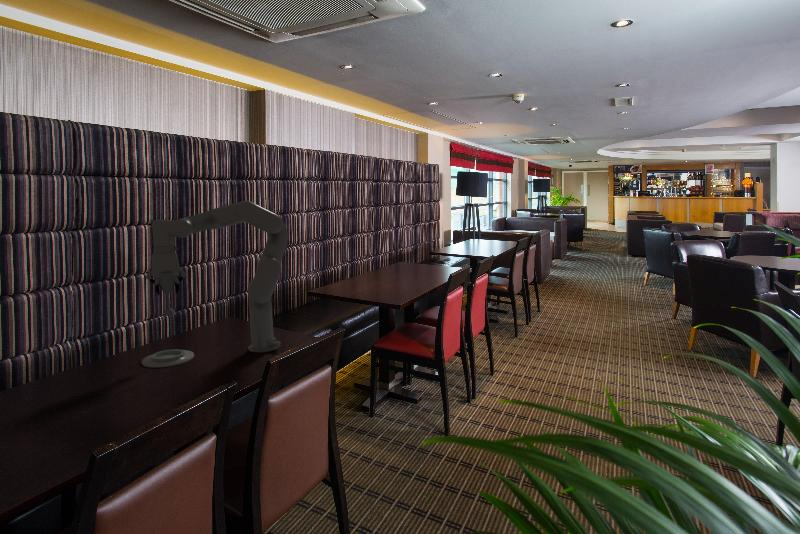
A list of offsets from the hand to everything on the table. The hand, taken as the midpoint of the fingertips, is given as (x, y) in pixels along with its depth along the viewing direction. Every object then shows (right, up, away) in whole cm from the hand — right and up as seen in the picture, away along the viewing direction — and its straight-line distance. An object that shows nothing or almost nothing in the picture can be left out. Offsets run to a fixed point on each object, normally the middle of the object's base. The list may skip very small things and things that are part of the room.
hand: (167, 293), depth 207 cm
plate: (-1, -28, +4) cm, 28 cm away
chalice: (0, -9, +1) cm, 9 cm away
